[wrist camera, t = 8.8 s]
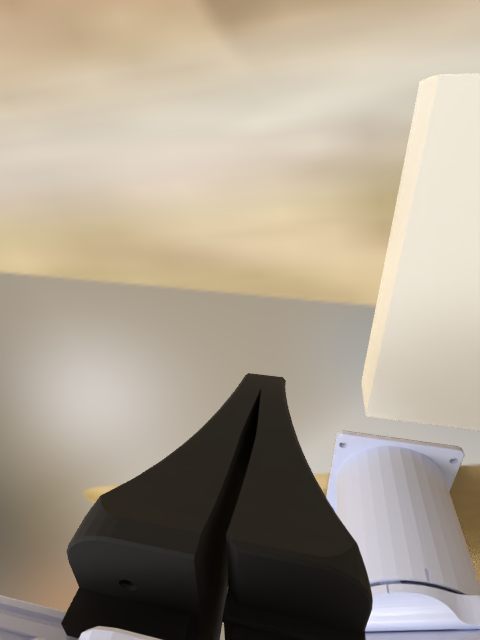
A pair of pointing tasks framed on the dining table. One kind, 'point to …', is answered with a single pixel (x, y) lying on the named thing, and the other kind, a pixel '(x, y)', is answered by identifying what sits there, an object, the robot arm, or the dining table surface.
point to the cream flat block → (432, 269)
